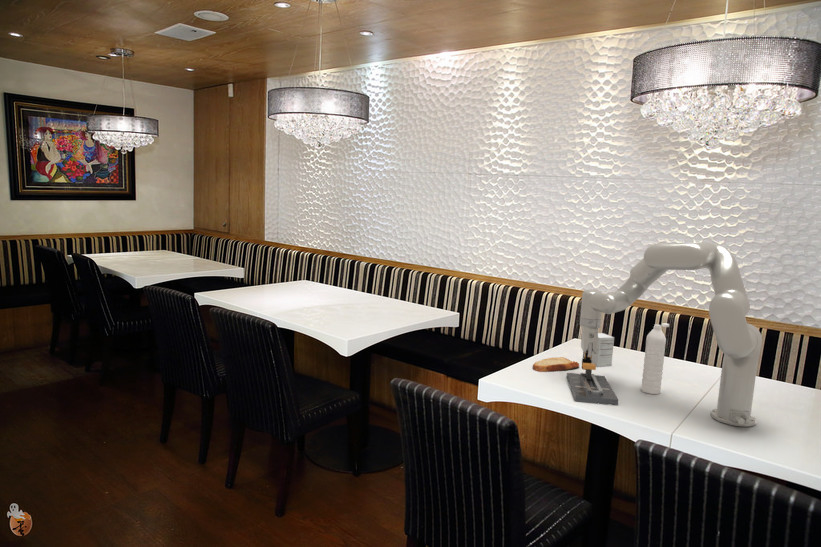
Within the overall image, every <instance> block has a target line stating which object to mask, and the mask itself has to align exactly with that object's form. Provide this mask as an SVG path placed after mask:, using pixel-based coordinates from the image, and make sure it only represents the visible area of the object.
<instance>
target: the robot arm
mask: <svg viewBox="0 0 821 547" xmlns="http://www.w3.org/2000/svg"><path fill="white" fill-rule="evenodd" d="M701 269H708V271H709V274H710V281H711V285H712V288H713V290H714V291H713V292H714V296H713V297H712V299H711V300H710V301H709V305H708V314H709V317H710V318H709V319H710V322H711V326H712V330H713V332H714V336H715V340H716V343H717V346H718V348H719V349H720V351H721V352H722V354H723V359H722V366H721V370H720V371H721V374H720V380H719V381H720V382H719V388H718V397H717V405H716V408H715V409H712V410H711V411H710V416H711V417H712V418H713V419H715V420H716V421H718V422H720V423H723V424H727V425H731V426H733V427H734V426H735V427H741V428H742V427H746V428H747V427H753V426H755V425H756V422H757V421H756V418H754V417H753V416H752V415H751V414H752V407H753V402H754V401H753V399H754V392H755V385H756V377H757V372H758V365H759V359H760V354H761V351H762V344H763V337H762V334H761V332H760V330H759V328H757V327H756V326H755V325H753V324H750V323H748V322H747V319H746V316H747V315H748V314H749V312H750V309H751V304H750V301H749V298H748V297H749V296H748V295H747V291H746V288H745V284H744V281H743V278H742V275H741V272H740V269H739V265H738V262H737V260H736V258H735V256H734V254H733V253H732V252H731V251H730V250H729V249H728V248H726V247H725V246H724V245H721V244H718V243H715V242H706V241H703V242H702V241H701V242H695V243H669V242H661V243H657V242H656V243H653V244H651V245H650V246H648V247H647V248H646V249H645V251H644V253H643V258H642V259H641V260H640V261H638V262H637V263H636V264H635V265H633V267H631V269H630V271H629V277H628V279H626V281H625V282H624V283H623V284H622V285H621V286H620V287H619V288H618V289H616V290H615V291H613V292H606V293H604V292H602V291H601V290H598V289H585V290H583V291H582V293H581V294H582V295H581V305H580V317H579V326H580V327H581V328H582V329H581V337H580V341H581V342H580V348H581V350H582V360H581V369H582V370H583V371H584V370H585V371H586V369H583V367H582V365H583V363H591V362H592V360H591V359H592V351H593V352H594V353H595V354H597V347H598V333H599V329H600V328H601V324H602V313H603V314H607V315H612V314H615V313H618V312H622V311H625V310H627V308H629V307H630V306H632V305H633V304H634V302H636V301H637V300H638V299H639V298H641V297H642V296H643V295H644V293H645V292H646V291H647V290H648V289H649V287H650V286H651V285H652V284H654V283H655V282H656V281H657V280H658V279H659V278H660V277H662V276H663V275H664V274H665V273H666V272H668V271H669V270H673V271H675V270H677V271H696V270H701Z"/></svg>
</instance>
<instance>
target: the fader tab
mask: <svg viewBox="0 0 821 547" xmlns="http://www.w3.org/2000/svg"><path fill="white" fill-rule="evenodd" d="M582 367H583V369H586V370H585V378H586V379H588V380H591V374H593V373H592V371H596V370H597V367H596V365H595V364H593V363H583V365H582V364H581V368H582ZM583 369H582V370H583Z"/></svg>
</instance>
